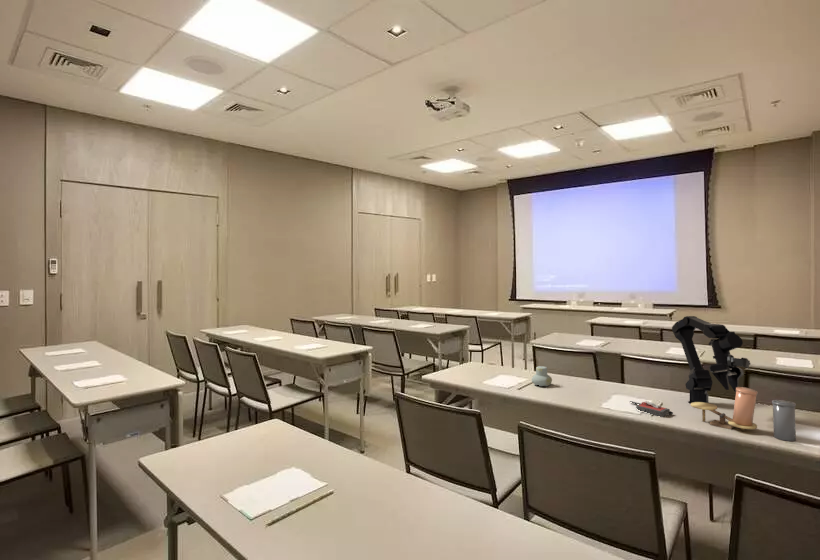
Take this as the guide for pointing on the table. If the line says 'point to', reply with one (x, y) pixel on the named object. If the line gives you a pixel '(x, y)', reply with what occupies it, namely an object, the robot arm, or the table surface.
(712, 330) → the robot arm
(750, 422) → the terracotta cup
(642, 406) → the walkie-talkie
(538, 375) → the air freshener
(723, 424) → the balance
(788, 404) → the charcoal cup
